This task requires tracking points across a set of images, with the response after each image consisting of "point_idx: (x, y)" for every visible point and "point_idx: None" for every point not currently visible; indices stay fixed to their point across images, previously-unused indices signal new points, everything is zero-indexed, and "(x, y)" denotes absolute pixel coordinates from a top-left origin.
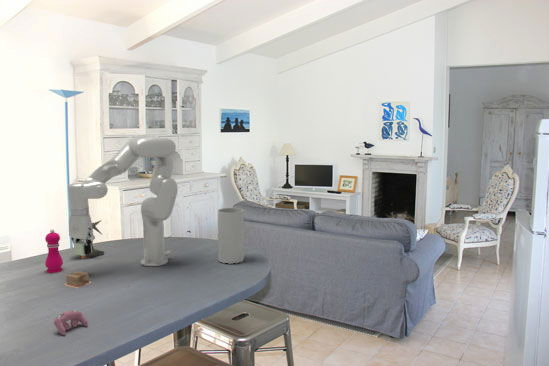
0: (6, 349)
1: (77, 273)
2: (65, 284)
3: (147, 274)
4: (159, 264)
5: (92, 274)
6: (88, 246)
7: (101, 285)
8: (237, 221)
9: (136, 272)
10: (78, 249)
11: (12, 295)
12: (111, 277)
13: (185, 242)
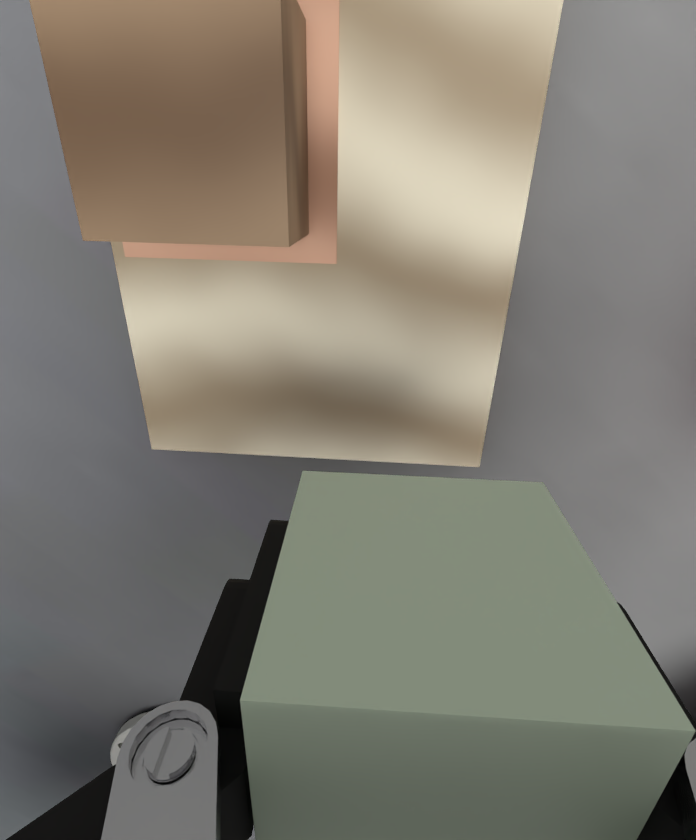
0: None
1: (201, 148)
2: (324, 6)
3: (32, 609)
4: (115, 738)
5: (388, 469)
6: (193, 701)
7: (55, 281)
8: None
9: (129, 613)
10: (426, 555)
11: None
12: (180, 475)
13: None
